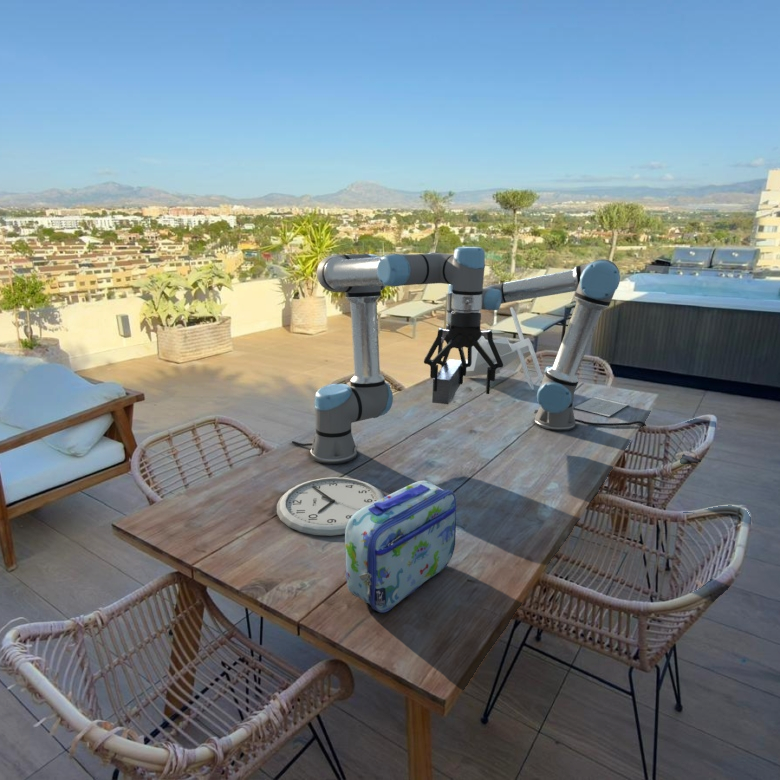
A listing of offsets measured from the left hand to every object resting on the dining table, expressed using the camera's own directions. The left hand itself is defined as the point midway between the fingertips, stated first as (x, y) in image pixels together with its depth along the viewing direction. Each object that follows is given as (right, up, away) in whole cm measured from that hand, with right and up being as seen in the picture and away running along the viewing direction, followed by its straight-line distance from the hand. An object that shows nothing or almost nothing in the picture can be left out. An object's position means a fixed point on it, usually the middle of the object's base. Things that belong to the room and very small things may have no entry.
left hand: (461, 391), depth 138 cm
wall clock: (-35, -31, +5) cm, 47 cm away
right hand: (+6, +3, +65) cm, 65 cm away
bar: (+3, 0, +56) cm, 56 cm away
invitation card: (+73, -7, +89) cm, 115 cm away
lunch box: (-16, -41, -26) cm, 51 cm away
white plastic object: (+34, +3, +120) cm, 125 cm away
